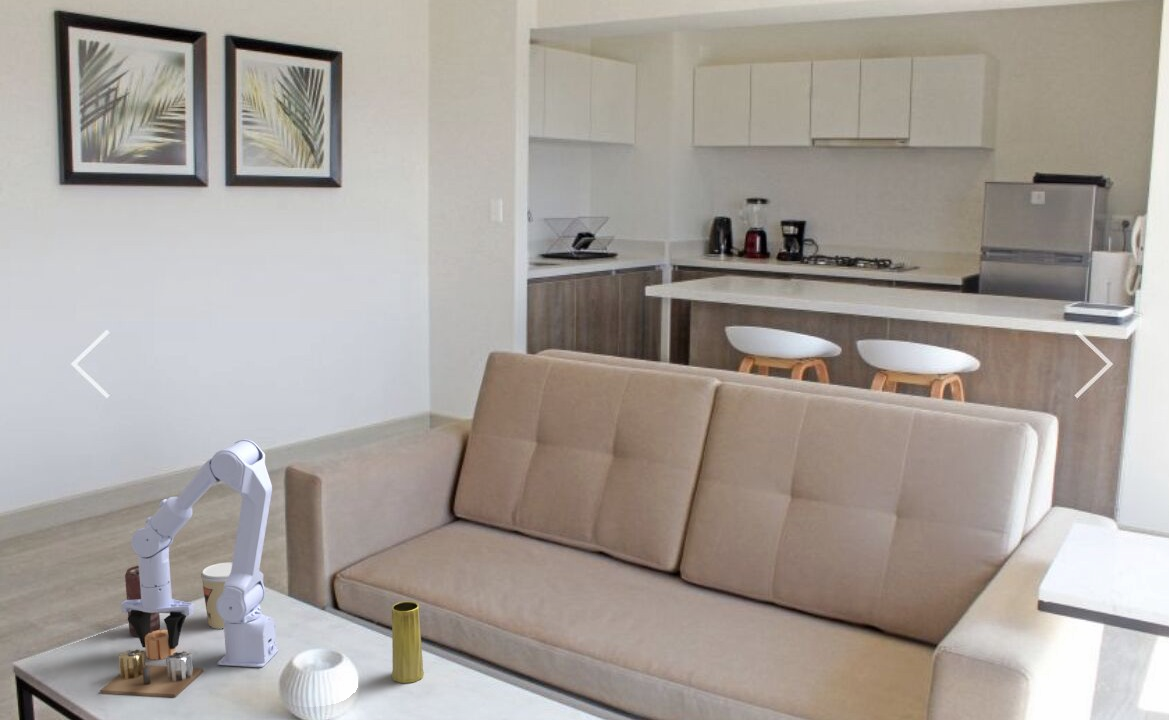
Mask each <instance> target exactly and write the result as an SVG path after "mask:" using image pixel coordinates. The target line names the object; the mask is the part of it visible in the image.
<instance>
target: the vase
mask: <svg viewBox="0 0 1169 720" xmlns="http://www.w3.org/2000/svg"><path fill="white" fill-rule="evenodd" d="M420 624H421V623H420V604H419V603H418V602H415V601H412V600H411V601H410V600H409V601H407V600H405V601H399V602H396V603H394V604H393V605H392V606H391V629H392V631H391V632H392V635H391V638H392V643H391V644H392V647H391V648H392V657H391V658H392V659H391V660H392V673H391V679H392V680H394V681H395V682H397V683H400V684H411V683H415V682H418V681H419V680H421V679H423V677H424V674H425V672H424V666H423V664H424V661H423V650H422V638H421V625H420Z"/></svg>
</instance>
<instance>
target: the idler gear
mask: <svg viewBox="0 0 1169 720" xmlns="http://www.w3.org/2000/svg"><path fill="white" fill-rule="evenodd" d="M144 651H145V657H146V656H147V657H146V658H147V659H148V658H149V659H150V660H154V659H156V660H163V659H167V656H168V655H173V653H176V652H177V649H176V647H175V648H174V649H170V646H169V636H168V631H167V629H159V630H157V631H153V632H152V633H148V634H147V635H146V636H145V649H144ZM175 651H176V652H175ZM156 660H155V661H156Z"/></svg>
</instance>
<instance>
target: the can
mask: <svg viewBox="0 0 1169 720" xmlns="http://www.w3.org/2000/svg"><path fill="white" fill-rule="evenodd" d="M124 579H125V580H124V582H125V592H126V593H125V594H126V600H139V599H141V588H140V576H139V565H136V566H132V567H128V569H126V572H125V574H124ZM130 614H131V611H128V612H127V618H128V617H129V616H130ZM160 617H161V616H160V613H151V619H150V632H151V633H152V632H153V631H157V630H161V629H160V628H161V619H160ZM128 629H129V630H128V631H129V633H130V634H131V636H133V635H134V636H133V637H136V636H138V635H137V633H136V631H135V629H134V628H133V626H132V625H131V624H130V623H129V622H128Z"/></svg>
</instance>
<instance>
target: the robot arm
mask: <svg viewBox="0 0 1169 720" xmlns="http://www.w3.org/2000/svg"><path fill="white" fill-rule="evenodd" d="M219 482H222V483H223V484H225V485H227V486H228V487H230V488H231V489H232V490H234V491H236V492H237V493H238V494H239V495H240V496H241V497H242V499H241V506H240V512H239V520H238V525H237V532H236V537H235V544H234V551H233V558H232V561H231V562H232V569H231V573H230V575H229V577H228V578H227V580H226V582H225V584H224V589H223V592H222V594H221V595H220V597H219V598H218V600H217V603H216V609H217V612H218V614H219V616H220V617H221V618H222V619H223V622H224V629H223V632H224V646H225V647H224V648H225V650H224V651H225V655H224V656H222V658H221V659H220V660H219V661H218V662H217V665H218V666H233V667H249V668H251V667H253V668H263V667H264V666H265V665H266V664H267V663H268V662H269V661H270V660H271V659H272V658H273V657H274V656H275V655H276V654H277V653H278V652H279V648H277V647H278V646H277V634H276V633H277V631H276V629H277V628H276V622H275V619H274V617H271V616H268V615H265V614H263V613H262V610H261V603H262V602H263V601H264V599H265V597H266V589H265V585H264V577H265V576H264V573H263V572H261V570H260V569H261V568H260V567H261V563H262V562H261V561H262V557H263V556H262V555H263V549H264V542H265V535H266V530H267V525H268V518H269V510H270V505H271V498H272V494H273V493H272V492H273V484H272V481H271V479H270V475H269V472H268V468H267V467H266V454H265V452H264V451H263V450H262V449H261V448H260V446H259V445H258V444H257V443H256V442H254V441H252V440H250V439H245V438H244V439H243V438H242V439H239V440H238V441H235V442H234V443H233V444H231V445H230V446H228V447H226V448H225V449H220V450H219V451H217V452H215V453H214V455H213V456H212V458H210V459H208V460H206V462H205V463H204V464H203V465H202V466H201V468H200V469H199V470H198V471H197V473H196V474H195V475H194V477H193V478H192V479H191V480H190V481H189V483H188V484H187V485H186V486H185V488H184V489H183V490H182V491H181V493H180V494H179V495H178V496H170V497H168V498H164V499H163V500H161V501H160V502H159V503H158V506H159V507H160V508H158V510H156V512H155V513H154V514H153V515H152V516H149V517H147V518H146V519H145V523H146V524H145V526H144V527H142V528H138V529H136V530H135V531H134V532H133V535H132V536H131V540H130V546H131V549H132V551H133V552H134V554H135V555H137V560H138V561H137V562H138V566H139V576H140V588H141V599H139V600H127V599H126V600H124V601H123V602H121V603H120V608H121V613H122V614H123V613H125V614H126V613H128V611H131V614H130V616H129V617H128V616H127V622H128V624H129V623H130V624H131V625H132V626H133V628H134V629H135V631H136V633H137V635H138V637H137V638H138V639H139V641H140V644H141V647H142V648H145V636H146V635H147V634H148V633H151V632H150V619H151V613H159V614H169V615H167V616H166V617H165V618H164V619H163V621H164V624H165V626H166V627H165V628H166V630H167V631H168V636H169V646H170V649H174V648H175V649H176V648H177V647H178V646H179V640H180V636H181V631H182V627H183V625H184V622H185V620H186V617H188V616H191V615H192V614H193V613H194V612H195V611H194V610H195V608H194V602H187V601H182V600H177V599H174V598H173V596H172V595H173V594H172V582H171V568H170V567H171V566H170V556H169V554H170V547H171V544H173V541H174V537H175V535H177V534H178V532H179V531H180V530H181V529H183V527H184V526H185V525H186V523H187V522H189V520H190V519H191V518H192V516H193V513H194V512H193V506H194V504H196V503H197V501H199V500H200V498H202V496H204V494H205V493H206V492H207V491H208V490H209V489H210V488H211V487H212V486H213V485H214V484H217V483H219Z"/></svg>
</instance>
